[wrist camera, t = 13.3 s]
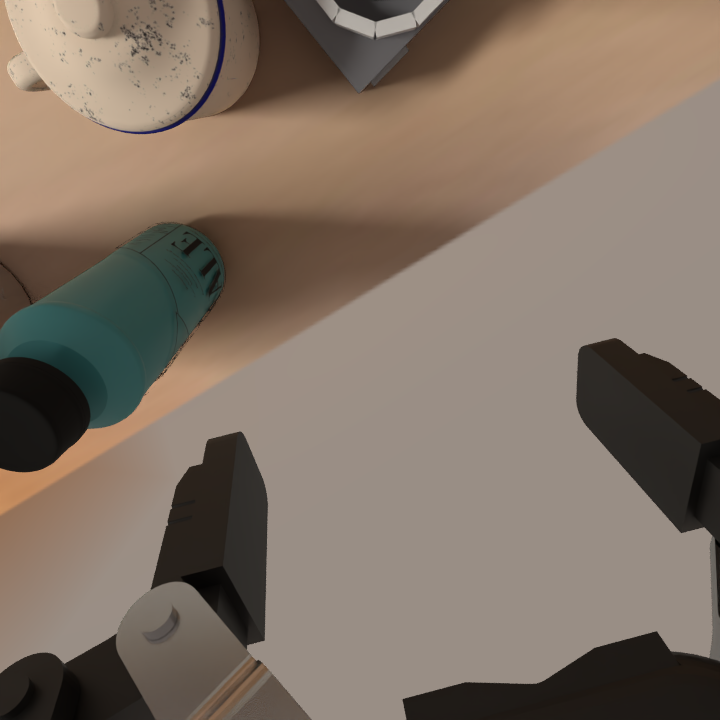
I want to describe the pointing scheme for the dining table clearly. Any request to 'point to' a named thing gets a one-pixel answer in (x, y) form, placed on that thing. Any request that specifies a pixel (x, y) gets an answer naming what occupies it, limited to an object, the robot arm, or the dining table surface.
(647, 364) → the robot arm
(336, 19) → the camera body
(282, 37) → the dining table surface
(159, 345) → the beverage bottle
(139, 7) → the teacup with lid
